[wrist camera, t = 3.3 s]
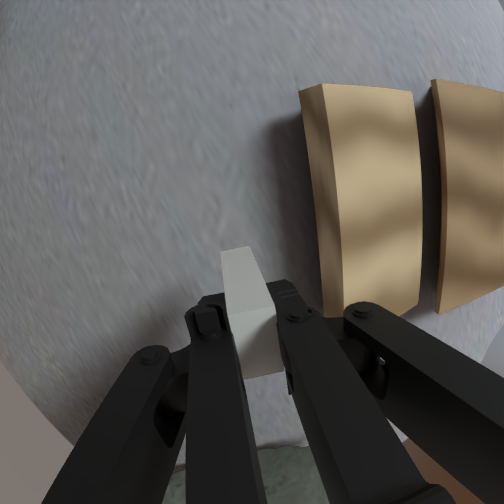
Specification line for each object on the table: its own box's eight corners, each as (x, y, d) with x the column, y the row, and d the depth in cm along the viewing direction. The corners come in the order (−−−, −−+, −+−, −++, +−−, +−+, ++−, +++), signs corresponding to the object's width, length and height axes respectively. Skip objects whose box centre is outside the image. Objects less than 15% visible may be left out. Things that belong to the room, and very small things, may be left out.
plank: (288, 97, 20) (310, 84, 15) (395, 95, 21) (432, 87, 16) (314, 318, 26) (335, 351, 21) (404, 292, 27) (434, 317, 22)
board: (409, 84, 21) (435, 78, 17) (487, 95, 22) (512, 94, 18) (417, 297, 27) (438, 314, 24) (487, 271, 28) (508, 283, 25)
